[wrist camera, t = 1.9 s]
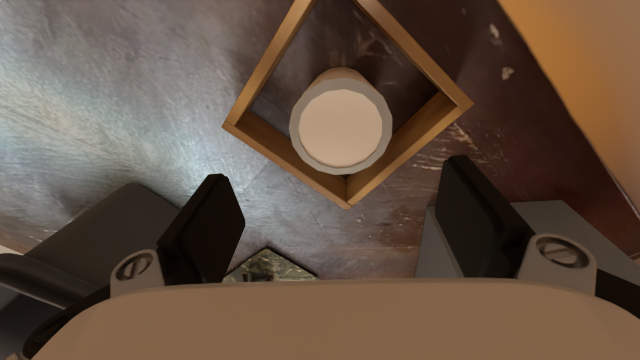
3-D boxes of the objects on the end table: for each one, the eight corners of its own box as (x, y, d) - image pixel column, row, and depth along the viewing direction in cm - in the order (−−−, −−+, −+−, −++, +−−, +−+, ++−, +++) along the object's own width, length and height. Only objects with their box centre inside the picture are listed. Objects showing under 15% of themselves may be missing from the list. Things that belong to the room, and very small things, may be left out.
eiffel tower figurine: (261, 309, 44) (236, 409, 33) (211, 284, 40) (164, 387, 29) (319, 276, 37) (311, 388, 26) (265, 243, 34) (230, 356, 23)
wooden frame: (329, -43, 17) (326, -55, 13) (453, 89, 21) (474, 104, 18) (237, 110, 23) (220, 127, 20) (346, 187, 27) (347, 211, 24)
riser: (561, 199, 27) (841, 438, 12) (518, 277, 34) (654, 479, 20) (426, 206, 28) (522, 422, 13) (414, 278, 36) (467, 466, 21)
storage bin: (153, 280, 41) (78, 390, 29) (50, 230, 35) (-95, 341, 23) (224, 220, 32) (156, 344, 20) (100, 138, 26) (-99, 245, 14)
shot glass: (300, 132, 24) (288, 171, 18) (302, 55, 20) (287, 73, 14) (371, 138, 24) (381, 179, 18) (386, 61, 20) (405, 82, 14)
